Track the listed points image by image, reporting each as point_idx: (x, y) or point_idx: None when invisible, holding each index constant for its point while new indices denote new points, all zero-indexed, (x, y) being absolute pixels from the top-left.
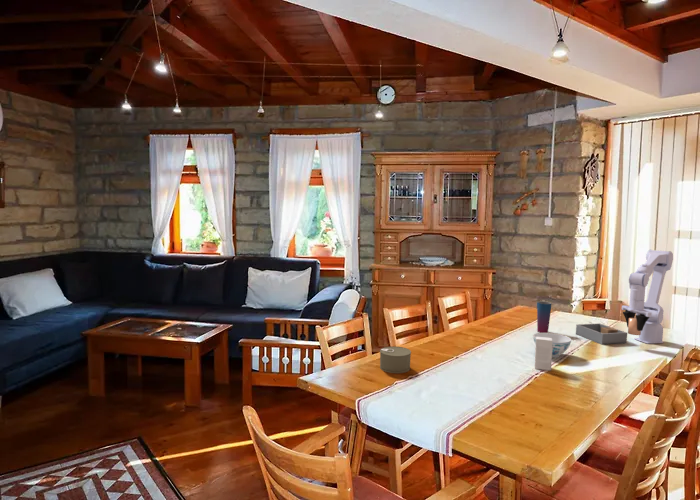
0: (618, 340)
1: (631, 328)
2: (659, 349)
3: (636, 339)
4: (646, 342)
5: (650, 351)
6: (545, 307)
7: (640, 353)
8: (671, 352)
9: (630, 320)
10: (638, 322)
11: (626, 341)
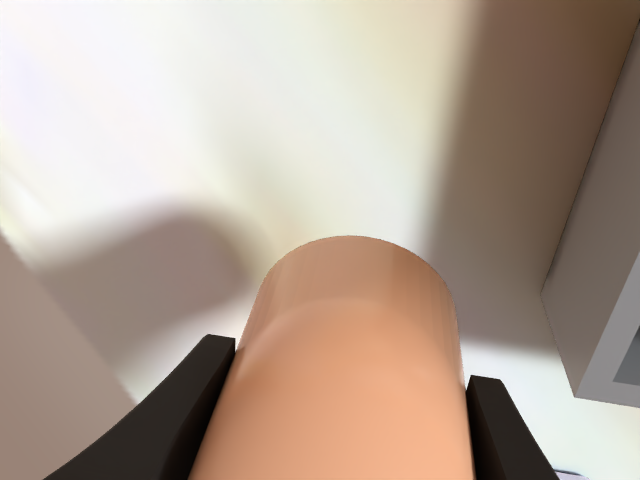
0: (595, 201)
1: (319, 306)
2: None
3: (558, 474)
4: None
5: (195, 256)
6: None
7: (142, 68)
8: (135, 398)
9: (344, 463)
10: (102, 458)
11: (545, 307)
